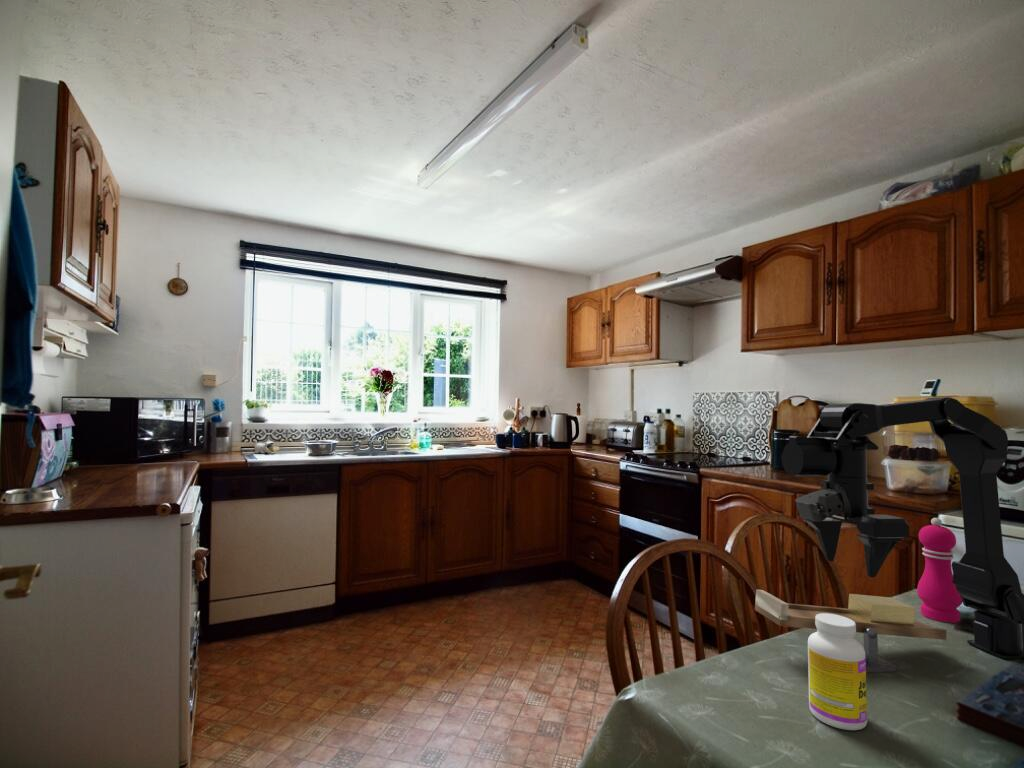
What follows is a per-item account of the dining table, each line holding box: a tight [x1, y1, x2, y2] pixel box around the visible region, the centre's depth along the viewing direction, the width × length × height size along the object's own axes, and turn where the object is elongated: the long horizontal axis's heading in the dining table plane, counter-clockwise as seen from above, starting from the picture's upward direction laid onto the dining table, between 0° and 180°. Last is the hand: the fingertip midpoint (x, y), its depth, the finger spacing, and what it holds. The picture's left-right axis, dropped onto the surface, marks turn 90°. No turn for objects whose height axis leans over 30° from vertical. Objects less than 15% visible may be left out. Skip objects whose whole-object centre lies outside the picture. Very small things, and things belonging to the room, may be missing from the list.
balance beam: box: [754, 589, 948, 641], centre depth 88 cm, size 30×7×4 cm, turn 97°
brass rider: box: [847, 593, 916, 626], centre depth 89 cm, size 8×5×4 cm, turn 97°
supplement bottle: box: [807, 613, 868, 731], centre depth 70 cm, size 7×7×13 cm
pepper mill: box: [916, 517, 963, 624], centre depth 106 cm, size 7×7×20 cm
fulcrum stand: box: [825, 606, 897, 674], centre depth 88 cm, size 6×12×6 cm, turn 7°
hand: (849, 568), depth 88 cm, fingers open, 9 cm apart
